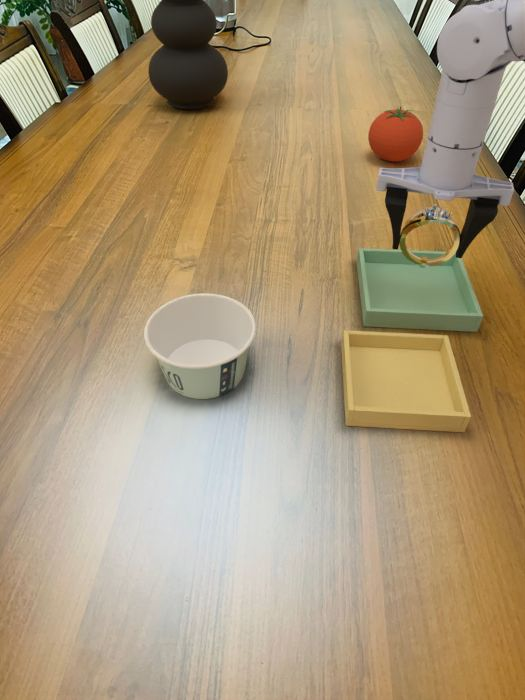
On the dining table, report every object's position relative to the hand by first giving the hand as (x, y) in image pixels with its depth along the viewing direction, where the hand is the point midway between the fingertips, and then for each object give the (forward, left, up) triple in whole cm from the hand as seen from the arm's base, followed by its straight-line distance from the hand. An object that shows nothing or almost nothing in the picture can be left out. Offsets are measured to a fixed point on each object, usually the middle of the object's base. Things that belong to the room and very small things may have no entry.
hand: (426, 249), depth 63 cm
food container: (+26, +15, -8) cm, 31 cm away
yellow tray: (+4, +16, -8) cm, 18 cm away
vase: (+43, -74, -8) cm, 86 cm away
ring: (0, 0, -3) cm, 3 cm away
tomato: (-2, -45, -8) cm, 46 cm away
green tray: (0, -1, -8) cm, 8 cm away
